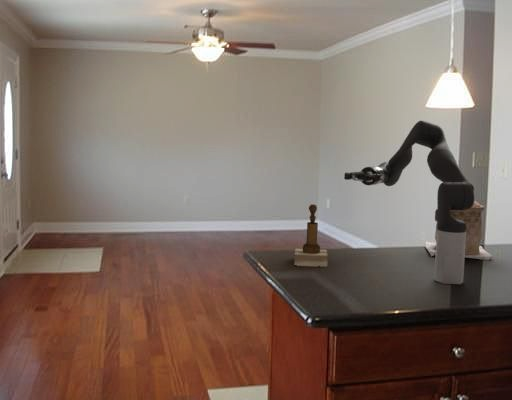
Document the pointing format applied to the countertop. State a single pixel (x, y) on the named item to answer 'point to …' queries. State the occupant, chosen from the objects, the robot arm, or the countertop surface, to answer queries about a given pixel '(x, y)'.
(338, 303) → the countertop surface
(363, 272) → the countertop surface
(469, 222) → the brown stone tower
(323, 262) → the plinth
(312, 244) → the mortar and pestle
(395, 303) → the countertop surface
